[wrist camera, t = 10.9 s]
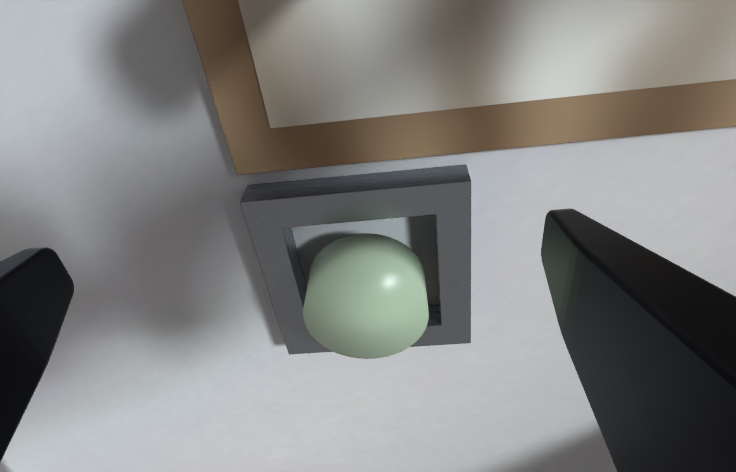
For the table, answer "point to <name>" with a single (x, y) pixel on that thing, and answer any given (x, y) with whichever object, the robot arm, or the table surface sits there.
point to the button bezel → (359, 203)
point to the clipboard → (457, 74)
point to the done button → (366, 297)
